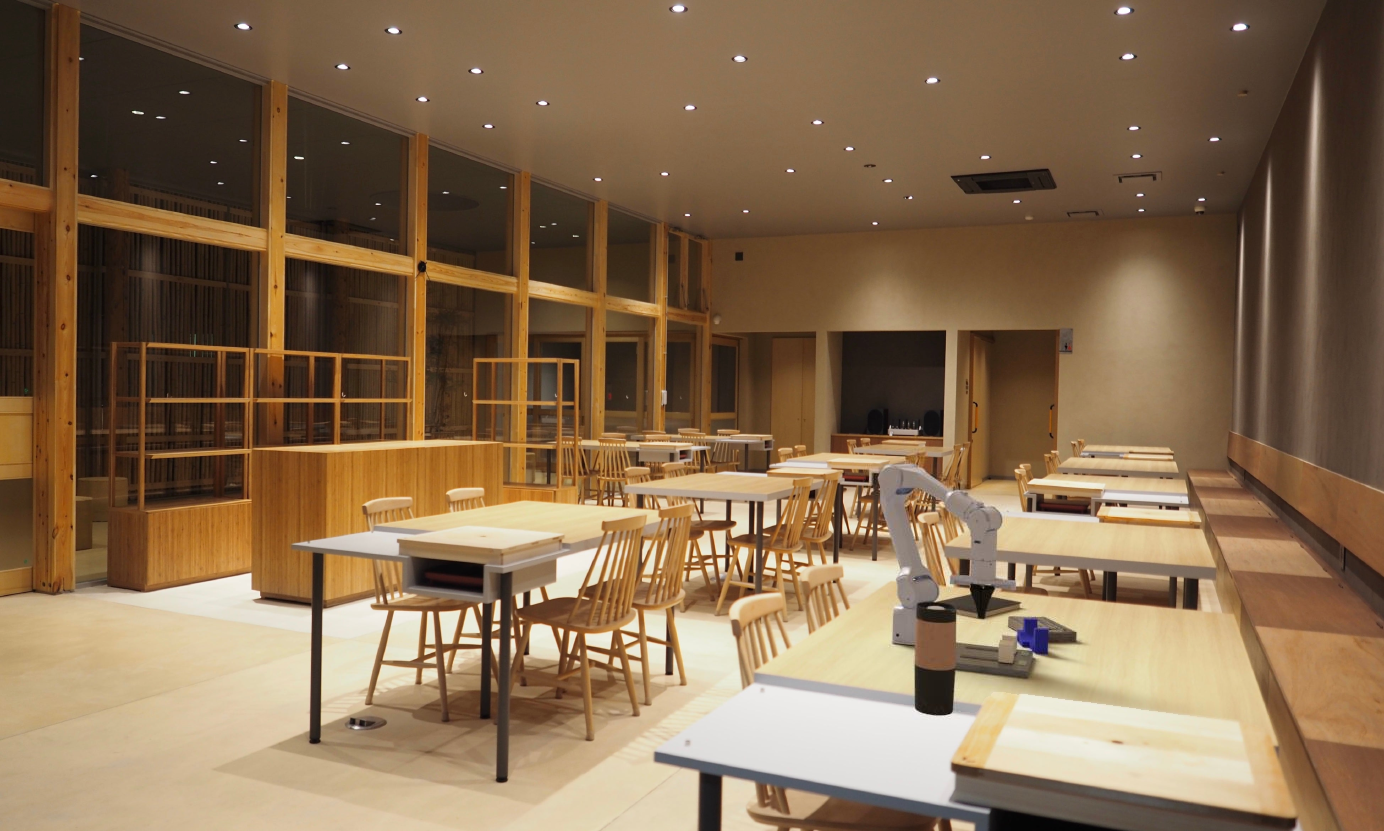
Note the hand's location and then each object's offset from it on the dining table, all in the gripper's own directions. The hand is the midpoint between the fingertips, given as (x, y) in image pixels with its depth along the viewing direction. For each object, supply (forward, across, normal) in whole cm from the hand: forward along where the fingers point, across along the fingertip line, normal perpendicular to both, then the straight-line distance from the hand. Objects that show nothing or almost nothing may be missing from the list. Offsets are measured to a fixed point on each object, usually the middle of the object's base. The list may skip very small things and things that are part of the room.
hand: (981, 617), depth 224 cm
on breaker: (+8, +6, +3) cm, 10 cm away
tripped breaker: (+8, +6, -6) cm, 12 cm away
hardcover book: (+10, -9, +56) cm, 58 cm away
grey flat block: (+10, +11, +32) cm, 35 cm away
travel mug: (+9, -3, -44) cm, 45 cm away
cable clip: (+10, +10, +16) cm, 22 cm away
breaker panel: (+9, +2, -3) cm, 10 cm away
